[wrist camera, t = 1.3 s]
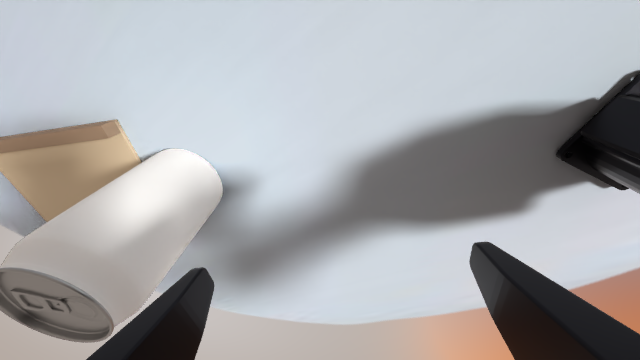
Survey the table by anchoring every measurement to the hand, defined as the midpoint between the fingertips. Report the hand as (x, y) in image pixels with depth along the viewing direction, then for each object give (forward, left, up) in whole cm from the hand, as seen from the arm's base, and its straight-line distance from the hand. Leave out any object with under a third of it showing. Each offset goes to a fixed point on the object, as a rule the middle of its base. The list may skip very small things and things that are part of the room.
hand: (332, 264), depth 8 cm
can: (+10, +9, -12) cm, 18 cm away
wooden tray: (+19, +15, -12) cm, 27 cm away
